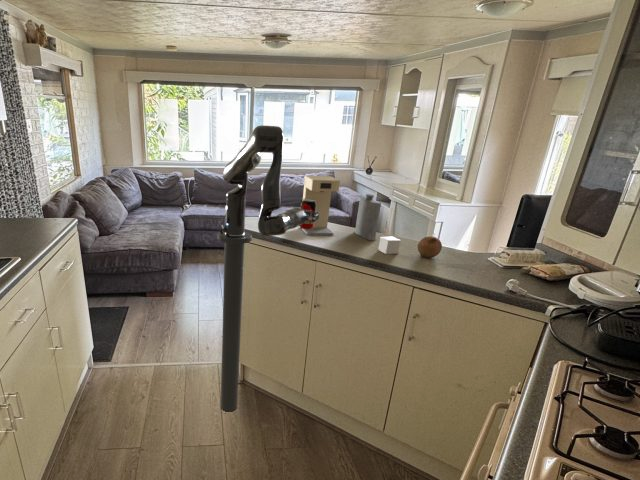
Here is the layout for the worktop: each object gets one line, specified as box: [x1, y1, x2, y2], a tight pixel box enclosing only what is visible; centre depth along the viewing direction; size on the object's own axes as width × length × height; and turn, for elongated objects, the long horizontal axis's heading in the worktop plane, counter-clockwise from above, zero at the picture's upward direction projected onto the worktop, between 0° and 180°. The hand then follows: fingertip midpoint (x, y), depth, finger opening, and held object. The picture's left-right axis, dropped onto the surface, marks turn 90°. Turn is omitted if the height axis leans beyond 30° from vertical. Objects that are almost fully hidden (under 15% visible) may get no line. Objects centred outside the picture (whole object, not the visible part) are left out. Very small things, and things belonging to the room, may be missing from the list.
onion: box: [417, 235, 443, 259], centre depth 181 cm, size 10×9×10 cm
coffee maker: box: [299, 175, 341, 236], centre depth 209 cm, size 14×13×26 cm
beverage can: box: [299, 198, 316, 229], centre depth 183 cm, size 6×6×12 cm
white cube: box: [377, 235, 401, 255], centre depth 186 cm, size 6×6×6 cm
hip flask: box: [354, 193, 382, 242], centre depth 206 cm, size 16×4×20 cm, turn 15°
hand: (310, 212), depth 185 cm, fingers closed on beverage can, 6 cm apart
